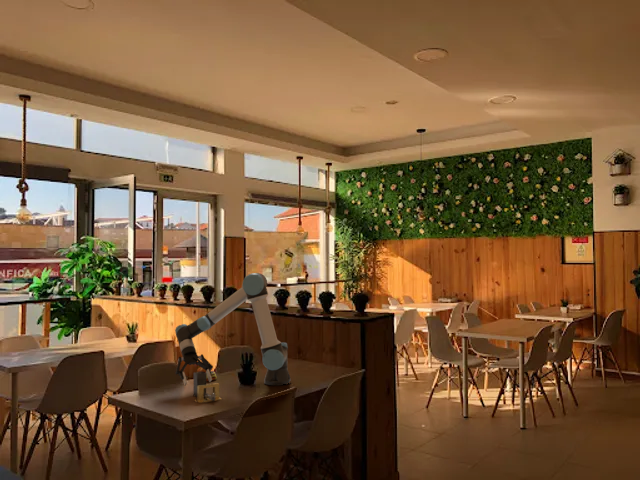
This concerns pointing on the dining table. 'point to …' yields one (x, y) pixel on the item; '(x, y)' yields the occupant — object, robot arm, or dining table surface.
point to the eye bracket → (201, 392)
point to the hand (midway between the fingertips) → (198, 382)
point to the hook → (201, 380)
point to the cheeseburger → (206, 374)
